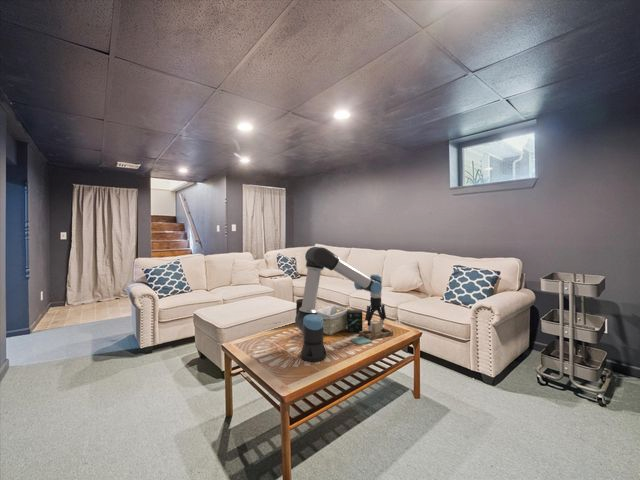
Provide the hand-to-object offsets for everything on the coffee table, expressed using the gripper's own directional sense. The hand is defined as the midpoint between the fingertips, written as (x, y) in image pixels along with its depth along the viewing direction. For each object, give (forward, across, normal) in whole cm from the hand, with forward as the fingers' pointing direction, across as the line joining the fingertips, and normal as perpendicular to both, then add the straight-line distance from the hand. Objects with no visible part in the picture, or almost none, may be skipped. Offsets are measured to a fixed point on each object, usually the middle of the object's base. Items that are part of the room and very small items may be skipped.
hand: (375, 329), depth 203 cm
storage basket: (+4, -22, +25) cm, 33 cm away
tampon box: (+4, -7, +15) cm, 17 cm away
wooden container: (+5, -31, +51) cm, 59 cm away
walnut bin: (+4, 0, 0) cm, 4 cm away
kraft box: (+4, 0, 0) cm, 4 cm away
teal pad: (+4, -16, -5) cm, 17 cm away
